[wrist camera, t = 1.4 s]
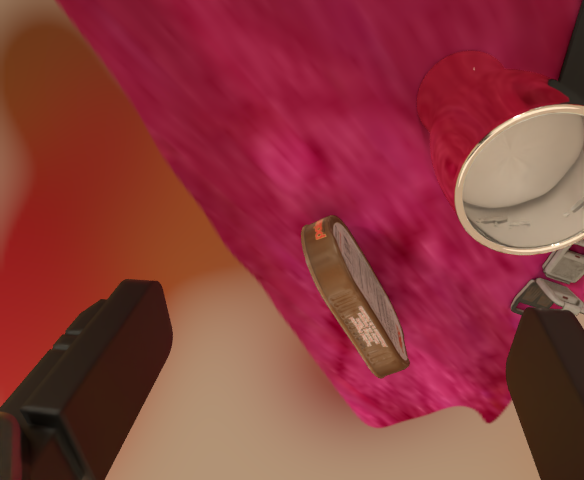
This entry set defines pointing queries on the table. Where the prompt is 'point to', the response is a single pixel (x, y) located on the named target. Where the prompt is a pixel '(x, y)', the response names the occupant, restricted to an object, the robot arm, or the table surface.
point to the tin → (354, 295)
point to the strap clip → (545, 292)
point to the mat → (575, 57)
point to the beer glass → (506, 152)
